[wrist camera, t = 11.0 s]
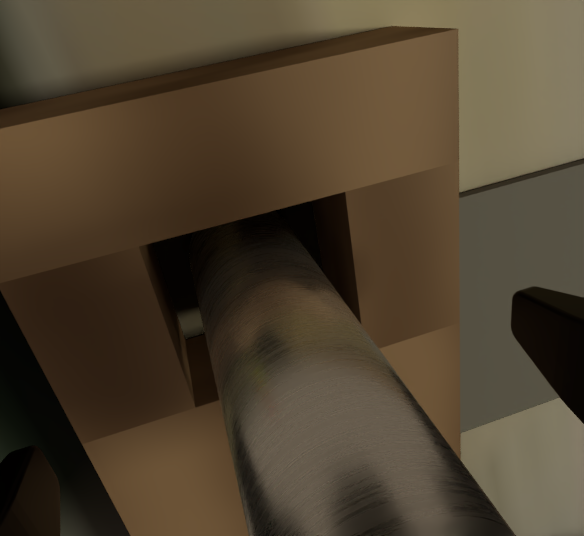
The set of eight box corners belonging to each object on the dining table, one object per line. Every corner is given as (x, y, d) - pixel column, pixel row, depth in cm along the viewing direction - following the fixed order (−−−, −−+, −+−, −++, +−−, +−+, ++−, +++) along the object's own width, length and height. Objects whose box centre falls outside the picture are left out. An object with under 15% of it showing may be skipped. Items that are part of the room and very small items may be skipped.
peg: (283, 189, 14) (534, 480, 5) (300, 282, 15) (517, 631, 7) (175, 217, 13) (248, 591, 5) (203, 311, 15) (300, 728, 6)
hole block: (392, 26, 13) (458, 28, 10) (423, 519, 22) (461, 585, 20) (-27, 115, 11) (-78, 145, 8) (202, 605, 21) (212, 689, 18)
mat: (692, 129, 17) (701, 130, 16) (641, 361, 21) (647, 365, 21) (448, 196, 15) (454, 199, 15) (452, 428, 20) (456, 434, 20)
